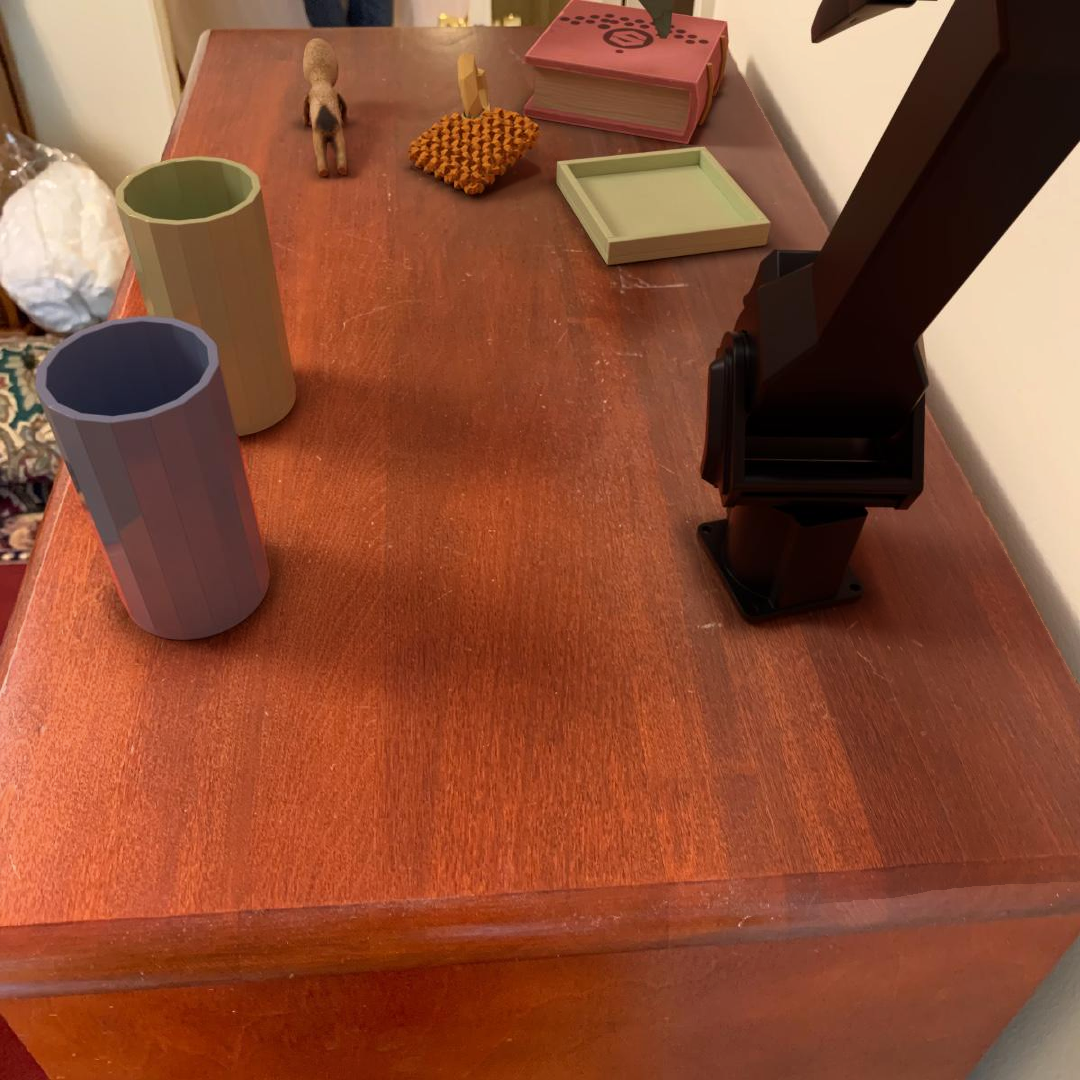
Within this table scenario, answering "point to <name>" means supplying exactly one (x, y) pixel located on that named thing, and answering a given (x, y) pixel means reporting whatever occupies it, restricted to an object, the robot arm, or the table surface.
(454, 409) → the table surface
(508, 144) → the ornament
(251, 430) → the green cup
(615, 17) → the book
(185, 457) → the blue cup
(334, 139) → the figurine
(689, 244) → the green tray
